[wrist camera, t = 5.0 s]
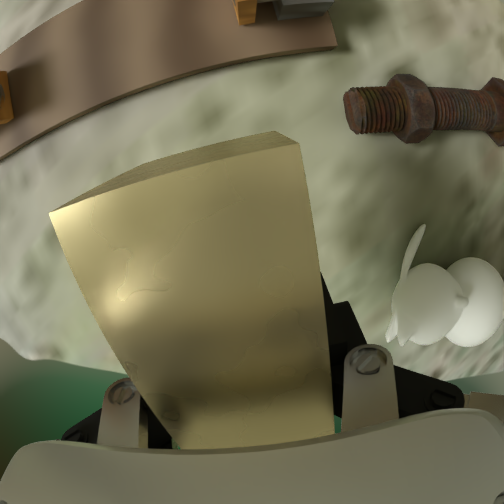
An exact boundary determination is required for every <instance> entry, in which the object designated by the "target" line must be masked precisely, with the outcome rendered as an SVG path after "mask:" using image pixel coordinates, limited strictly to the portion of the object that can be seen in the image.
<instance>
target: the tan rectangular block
mask: <svg viewBox="0 0 504 504" xmlns="http://www.w3.org/2000/svg"><path fill="white" fill-rule="evenodd" d="M49 215H50V218H51V220H52V223H53V226H54V229H55V231H56V234H57V236H58V239H59V241H60V244H61V246H62V249H63V251H64V254H65V256H66V258H67V261H68V263H69V265H70V268H71V270H72V272H73V274H74V277H75V279H76V281H77V283H78V285H79V287H80V289H81V292H82V294H83V296H84V298H85V300H86V302H87V304H88V306H89V308H90V310H91V312H92V314H93V315H94V317H95V319H96V321H97V323H98V325H99V327H100V329H101V330H102V332H103V334H104V336H105V338H106V339H107V341H108V343H109V345H110V346H111V348H112V350H113V351H114V353H115V355H116V357H117V358H118V360H119V361H120V363H121V365H122V366H123V368H124V370H125V371H126V373H127V374H128V376H129V377H130V379H131V381H132V382H133V384H134V385H135V387H136V388H137V390H138V391H139V393H140V394H141V396H142V397H143V399H144V400H145V401H146V403H147V404H148V406H149V407H150V409H151V410H152V411H153V413H154V414H155V415H156V417H157V418H158V420H159V421H160V422H161V424H162V425H163V426H164V428H165V429H166V430H167V432H168V433H169V434H170V435H171V437H172V438H173V439H174V440H175V442H176V443H177V444H178V445H179V446H180V448H181V449H220V448H237V447H249V446H260V445H269V444H277V443H285V442H292V441H299V440H305V439H311V438H316V437H322V436H327V435H332V434H335V433H334V413H333V396H332V382H331V369H330V357H329V346H328V335H327V325H326V316H325V307H324V298H323V290H322V282H321V274H320V266H319V259H318V252H317V245H316V238H315V231H314V225H313V219H312V212H311V206H310V200H309V194H308V189H307V183H306V177H305V172H304V166H303V161H302V156H301V151H300V145H299V143H297V142H296V141H294V140H292V139H290V138H288V137H286V136H284V135H282V134H280V133H278V132H276V131H270V132H265V133H260V134H255V135H251V136H246V137H242V138H237V139H233V140H228V141H224V142H220V143H216V144H212V145H208V146H204V147H200V148H196V149H193V150H189V151H185V152H182V153H178V154H174V155H171V156H168V157H164V158H161V159H157V160H154V161H151V162H148V163H145V164H142V165H140V166H138V167H135V168H133V169H131V170H129V171H127V172H125V173H123V174H121V175H119V176H117V177H115V178H113V179H111V180H109V181H107V182H105V183H103V184H101V185H99V186H97V187H95V188H93V189H91V190H89V191H87V192H86V193H84V194H82V195H80V196H78V197H76V198H75V199H73V200H71V201H69V202H67V203H66V204H64V205H62V206H60V207H59V208H57V209H55V210H54V211H52V212H50V213H49Z"/></svg>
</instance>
